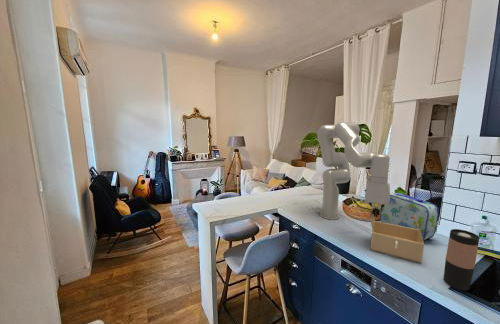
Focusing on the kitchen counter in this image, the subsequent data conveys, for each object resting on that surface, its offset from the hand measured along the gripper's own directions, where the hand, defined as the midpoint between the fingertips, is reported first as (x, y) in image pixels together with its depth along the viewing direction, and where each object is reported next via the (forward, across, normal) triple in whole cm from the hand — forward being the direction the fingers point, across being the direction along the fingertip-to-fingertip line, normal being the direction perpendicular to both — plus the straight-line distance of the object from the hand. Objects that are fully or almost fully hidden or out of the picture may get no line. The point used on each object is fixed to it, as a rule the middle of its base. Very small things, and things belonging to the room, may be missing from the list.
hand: (375, 215), depth 106 cm
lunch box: (+15, +15, +24) cm, 32 cm away
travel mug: (+15, +27, -17) cm, 35 cm away
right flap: (+2, +17, -1) cm, 17 cm away
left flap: (+2, -1, 0) cm, 2 cm away
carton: (+15, +9, -1) cm, 17 cm away
